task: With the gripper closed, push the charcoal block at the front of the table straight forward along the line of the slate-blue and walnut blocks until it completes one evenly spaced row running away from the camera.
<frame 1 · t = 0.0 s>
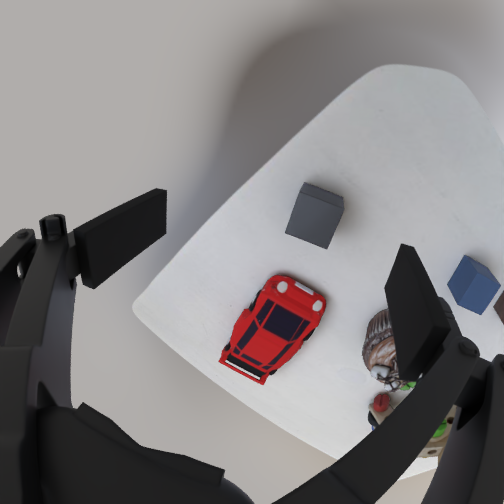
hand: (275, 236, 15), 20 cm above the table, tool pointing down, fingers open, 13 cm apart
toy construction set: (410, 407, 45), on the table
charcoal block: (317, 207, 34), on the table
toy car: (272, 325, 44), on the table
slate-blue block: (467, 275, 32), on the table
cupcake: (391, 327, 39), on the table
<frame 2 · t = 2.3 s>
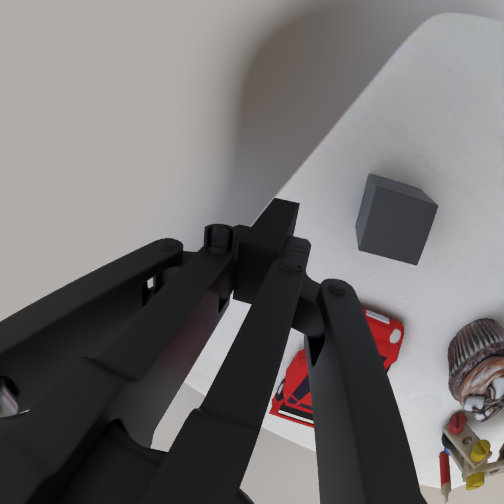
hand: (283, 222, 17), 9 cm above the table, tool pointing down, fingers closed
toy construction set: (483, 419, 31), on the table
charcoal block: (388, 208, 23), on the table
toy car: (333, 363, 33), on the table
cupcake: (474, 342, 26), on the table
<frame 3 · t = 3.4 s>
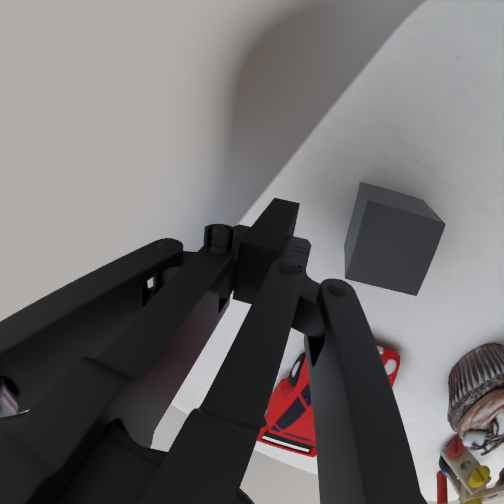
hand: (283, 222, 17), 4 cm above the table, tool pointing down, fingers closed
toy construction set: (484, 439, 27), on the table
charcoal block: (384, 223, 19), on the table
toy car: (321, 390, 29), on the table
cupcake: (477, 368, 22), on the table
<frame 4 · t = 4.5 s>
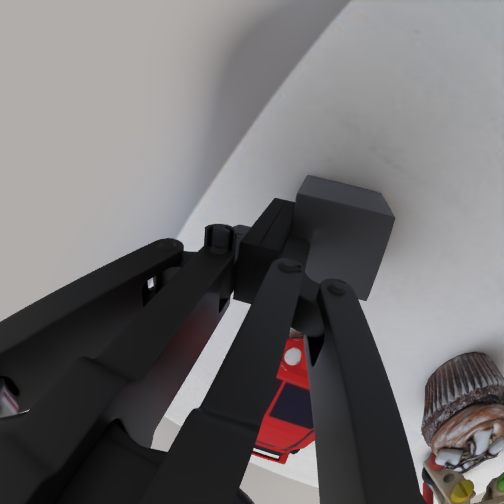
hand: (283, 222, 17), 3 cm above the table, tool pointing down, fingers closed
toy construction set: (472, 450, 26), on the table
charcoal block: (336, 219, 19), on the table, touching gripper
toy car: (286, 396, 28), on the table
cupcake: (459, 378, 21), on the table
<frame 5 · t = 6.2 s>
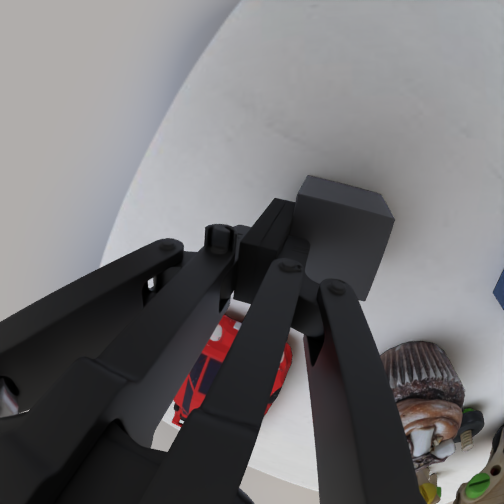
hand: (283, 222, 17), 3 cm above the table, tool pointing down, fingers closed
toy construction set: (443, 450, 27), on the table
charcoal block: (336, 219, 19), on the table, touching gripper
toy car: (228, 378, 29), on the table
cupcake: (408, 369, 22), on the table
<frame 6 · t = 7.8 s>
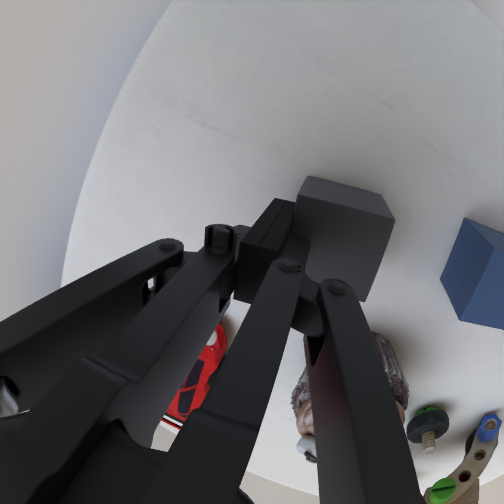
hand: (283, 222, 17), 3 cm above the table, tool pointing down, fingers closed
toy construction set: (412, 451, 28), on the table
charcoal block: (336, 220, 19), on the table, touching gripper
toy car: (179, 361, 30), on the table
slate-blue block: (477, 257, 16), on the table
cupcake: (352, 360, 24), on the table
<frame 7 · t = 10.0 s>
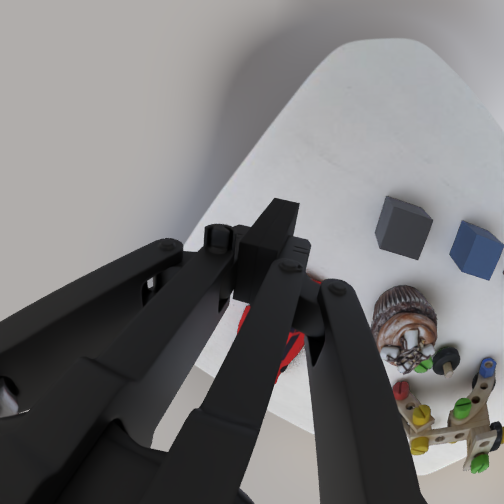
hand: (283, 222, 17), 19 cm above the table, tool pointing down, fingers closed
toy construction set: (433, 393, 42), on the table
charcoal block: (398, 220, 32), on the table
toy car: (277, 320, 44), on the table
slate-blue block: (469, 242, 30), on the table
cupcake: (399, 308, 37), on the table
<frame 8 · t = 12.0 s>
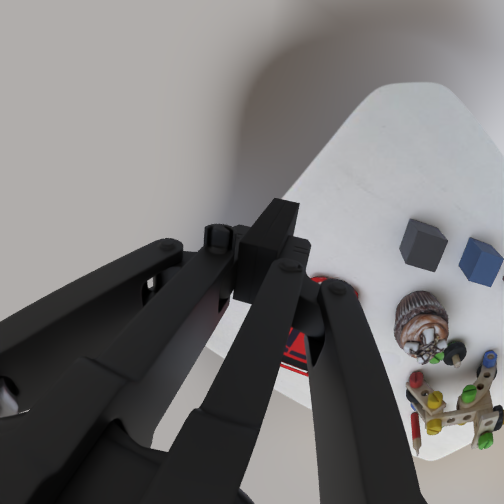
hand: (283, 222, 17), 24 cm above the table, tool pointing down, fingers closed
toy construction set: (443, 382, 48), on the table
charcoal block: (418, 238, 38), on the table
toy car: (313, 322, 50), on the table
slate-blue block: (475, 255, 36), on the table
cupcake: (416, 309, 43), on the table
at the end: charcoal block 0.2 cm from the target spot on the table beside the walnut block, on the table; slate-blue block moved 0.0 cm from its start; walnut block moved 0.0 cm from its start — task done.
